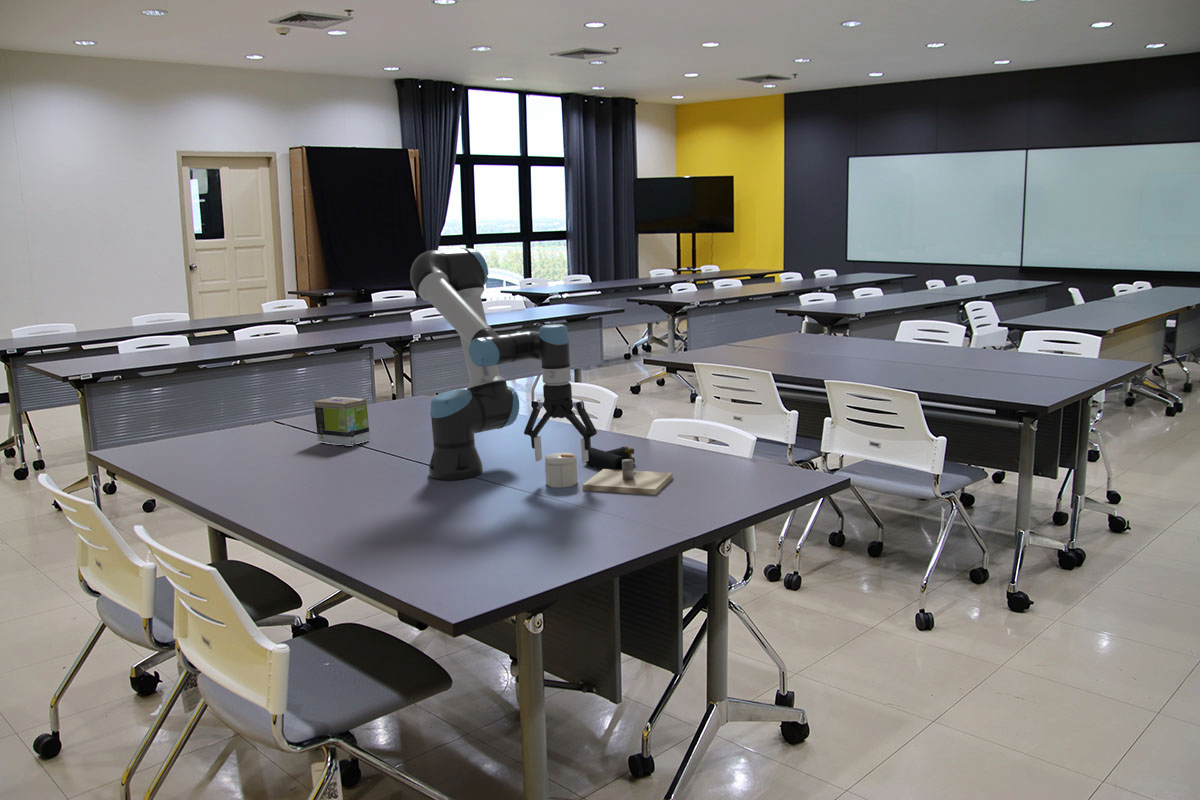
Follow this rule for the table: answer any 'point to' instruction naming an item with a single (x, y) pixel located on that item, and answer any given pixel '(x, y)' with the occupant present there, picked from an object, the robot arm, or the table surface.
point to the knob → (561, 469)
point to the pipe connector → (609, 457)
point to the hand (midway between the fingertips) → (561, 461)
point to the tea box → (342, 420)
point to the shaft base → (628, 480)
